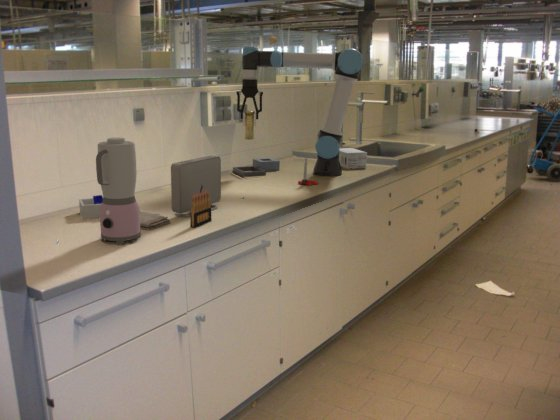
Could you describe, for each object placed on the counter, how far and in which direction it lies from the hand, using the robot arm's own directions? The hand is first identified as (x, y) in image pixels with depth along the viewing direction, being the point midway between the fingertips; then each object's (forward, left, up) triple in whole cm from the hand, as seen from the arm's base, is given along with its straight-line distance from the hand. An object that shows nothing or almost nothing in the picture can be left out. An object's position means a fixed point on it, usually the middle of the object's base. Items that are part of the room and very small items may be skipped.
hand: (249, 125), depth 281 cm
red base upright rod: (-30, -19, -26) cm, 44 cm away
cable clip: (-55, +79, -25) cm, 100 cm away
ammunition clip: (-81, +51, -26) cm, 99 cm away
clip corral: (-55, +79, -25) cm, 100 cm away
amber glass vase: (0, 0, -7) cm, 7 cm away
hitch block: (+8, -13, -25) cm, 30 cm away
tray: (0, 0, -25) cm, 25 cm away
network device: (-63, +47, -26) cm, 83 cm away
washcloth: (-72, +70, -26) cm, 104 cm away
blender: (-90, +81, -26) cm, 124 cm away
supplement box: (+8, -66, -26) cm, 71 cm away
